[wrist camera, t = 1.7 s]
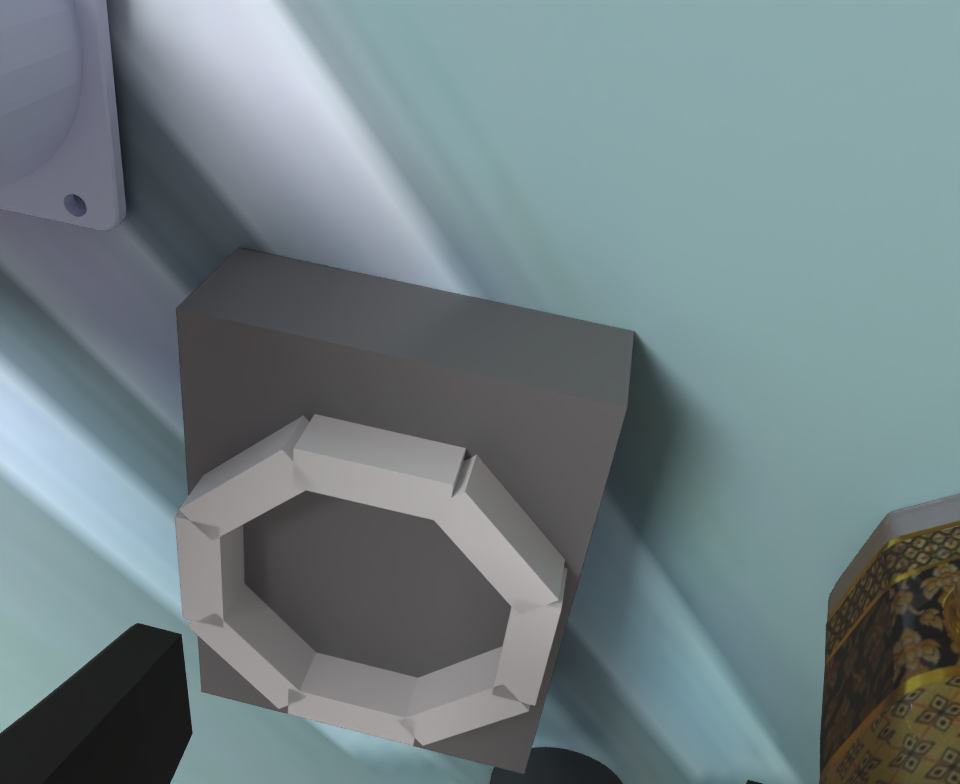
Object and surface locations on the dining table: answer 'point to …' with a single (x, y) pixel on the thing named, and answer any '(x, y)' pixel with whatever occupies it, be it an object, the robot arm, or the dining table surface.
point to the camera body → (388, 498)
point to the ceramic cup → (896, 655)
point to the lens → (557, 769)
